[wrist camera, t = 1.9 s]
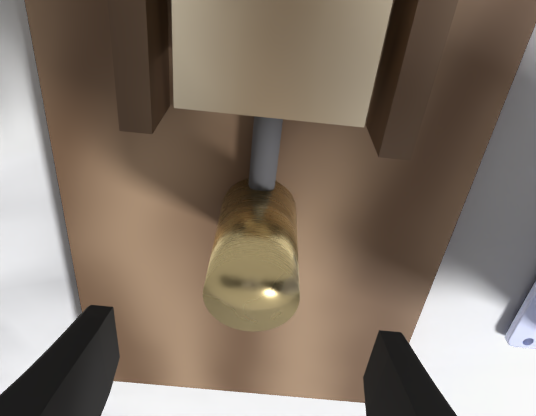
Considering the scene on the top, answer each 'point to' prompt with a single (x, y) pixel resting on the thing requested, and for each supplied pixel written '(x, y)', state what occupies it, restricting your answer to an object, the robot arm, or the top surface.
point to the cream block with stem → (270, 125)
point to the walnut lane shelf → (288, 174)
